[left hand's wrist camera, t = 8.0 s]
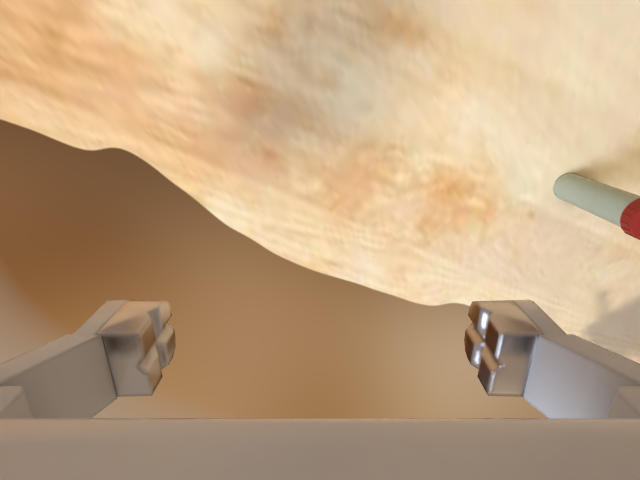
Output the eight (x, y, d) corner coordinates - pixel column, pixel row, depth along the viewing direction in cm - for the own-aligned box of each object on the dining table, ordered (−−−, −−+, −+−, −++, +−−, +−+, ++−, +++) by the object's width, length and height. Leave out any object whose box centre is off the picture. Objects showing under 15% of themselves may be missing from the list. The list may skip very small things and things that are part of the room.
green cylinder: (553, 201, 59) (631, 240, 44) (553, 176, 57) (633, 207, 43) (580, 195, 58) (668, 232, 44) (580, 170, 57) (671, 199, 42)
